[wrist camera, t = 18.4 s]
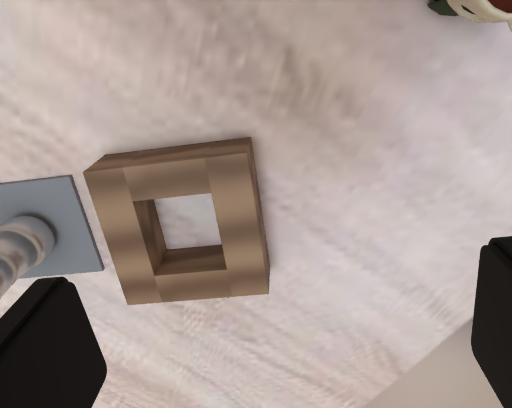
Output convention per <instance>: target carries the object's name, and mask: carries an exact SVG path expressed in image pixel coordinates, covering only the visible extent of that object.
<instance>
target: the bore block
mask: <svg viewBox="0 0 512 408" xmlns="http://www.w3.org/2000/svg"><path fill="white" fill-rule="evenodd" d="M83 175H84V177H85V180H86V183H87V186H88V189H89V192H90V195H91V198H92V201H93V204H94V207H95V210H96V213H97V216H98V219H99V222H100V225H101V228H102V231H103V234H104V237H105V239H106V242H107V245H108V248H109V251H110V254H111V257H112V260H113V263H114V266H115V269H116V272H117V275H118V278H119V281H120V284H121V287H122V290H123V293H124V296H125V299H126V301H127V304H128V305H135V304H148V303H160V302H173V301H185V300H198V299H210V298H223V297H235V296H248V295H260V294H269V277H270V263H269V256H268V250H267V243H266V236H265V230H264V223H263V216H262V210H261V203H260V196H259V189H258V183H257V176H256V169H255V163H254V156H253V149H252V142H251V137H248V138H240V139H232V140H224V141H215V142H207V143H199V144H191V145H183V146H175V147H167V148H159V149H151V150H142V151H134V152H126V153H118V154H110V155H104V156H103V157H102V158H100V159H99V160H98V161H97V162H95V163H94V164H93V165H92V166H90V167H89V168H88V169H86V170H85V171H84V172H83ZM205 193H212V198H213V203H214V208H215V213H216V218H217V223H218V228H219V232H220V237H221V242H222V245H215V246H204V247H193V248H183V249H172V250H167V249H166V245H165V241H164V238H163V234H162V230H161V226H160V223H159V219H158V215H157V212H156V208H155V204H154V200H153V199H159V198H168V197H177V196H187V195H196V194H205Z"/></svg>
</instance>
